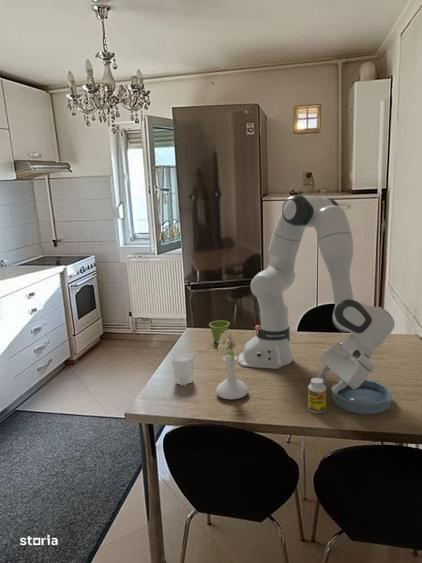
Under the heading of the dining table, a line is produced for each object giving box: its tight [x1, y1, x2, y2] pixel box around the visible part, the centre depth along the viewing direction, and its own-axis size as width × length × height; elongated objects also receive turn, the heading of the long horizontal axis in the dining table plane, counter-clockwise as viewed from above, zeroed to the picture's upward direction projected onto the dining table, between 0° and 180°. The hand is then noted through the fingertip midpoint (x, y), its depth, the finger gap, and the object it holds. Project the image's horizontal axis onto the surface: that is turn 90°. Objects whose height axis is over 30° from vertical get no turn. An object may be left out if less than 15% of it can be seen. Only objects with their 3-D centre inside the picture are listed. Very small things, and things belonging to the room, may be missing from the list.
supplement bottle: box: [307, 377, 327, 414], centre depth 139 cm, size 6×6×10 cm
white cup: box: [171, 352, 194, 386], centre depth 164 cm, size 8×8×10 cm
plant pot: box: [208, 320, 230, 344], centre depth 203 cm, size 9×9×9 cm
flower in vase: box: [215, 329, 249, 400], centre depth 149 cm, size 13×11×25 cm
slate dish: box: [331, 378, 393, 415], centre depth 144 cm, size 18×18×4 cm
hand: (326, 384), depth 139 cm, fingers open, 8 cm apart
